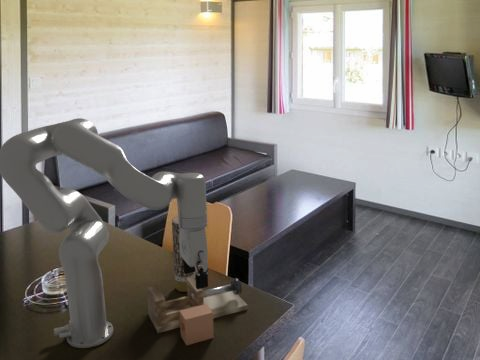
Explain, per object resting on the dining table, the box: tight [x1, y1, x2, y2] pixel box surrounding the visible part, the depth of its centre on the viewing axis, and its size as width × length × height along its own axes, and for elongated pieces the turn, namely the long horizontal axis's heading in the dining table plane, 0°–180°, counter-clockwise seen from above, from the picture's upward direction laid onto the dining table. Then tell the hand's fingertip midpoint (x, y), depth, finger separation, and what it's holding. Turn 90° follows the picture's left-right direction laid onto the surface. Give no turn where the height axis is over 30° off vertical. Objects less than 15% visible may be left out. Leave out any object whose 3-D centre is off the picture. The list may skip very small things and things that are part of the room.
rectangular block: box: [179, 304, 214, 346], centre depth 127 cm, size 8×5×8 cm, turn 115°
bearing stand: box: [146, 278, 248, 334], centre depth 139 cm, size 28×11×10 cm, turn 115°
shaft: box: [191, 277, 242, 301], centre depth 141 cm, size 16×5×5 cm, turn 115°
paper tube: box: [171, 215, 196, 293], centre depth 151 cm, size 7×7×25 cm
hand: (195, 279), depth 123 cm, fingers open, 9 cm apart
